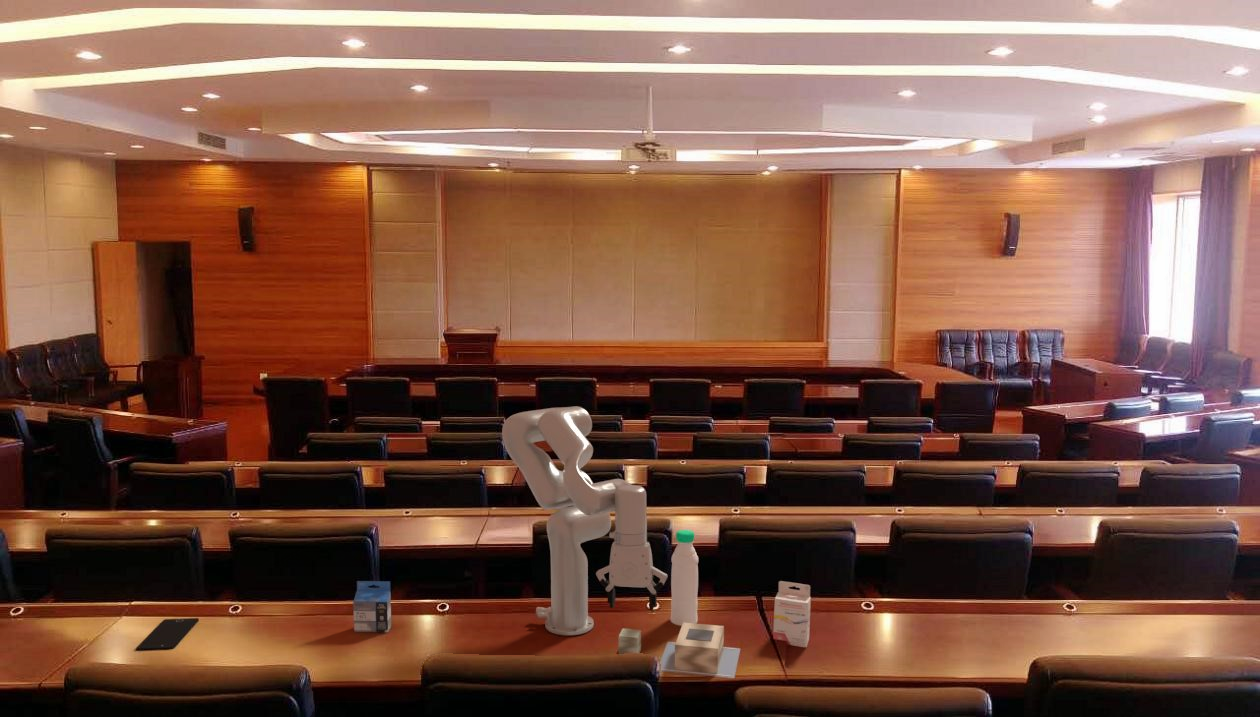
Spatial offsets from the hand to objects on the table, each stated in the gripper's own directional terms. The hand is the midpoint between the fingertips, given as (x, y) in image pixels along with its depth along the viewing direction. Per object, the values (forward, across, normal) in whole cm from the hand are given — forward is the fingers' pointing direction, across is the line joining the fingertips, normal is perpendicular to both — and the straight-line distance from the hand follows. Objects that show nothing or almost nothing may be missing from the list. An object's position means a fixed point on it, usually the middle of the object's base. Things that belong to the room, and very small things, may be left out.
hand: (632, 607), depth 223 cm
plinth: (+12, +16, +1) cm, 20 cm away
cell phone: (+11, -118, -12) cm, 119 cm away
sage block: (+13, -1, +1) cm, 13 cm away
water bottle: (+13, +9, +23) cm, 28 cm away
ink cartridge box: (+13, +37, +18) cm, 43 cm away
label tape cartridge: (+11, -69, +2) cm, 70 cm away
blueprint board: (+13, +16, +1) cm, 21 cm away
